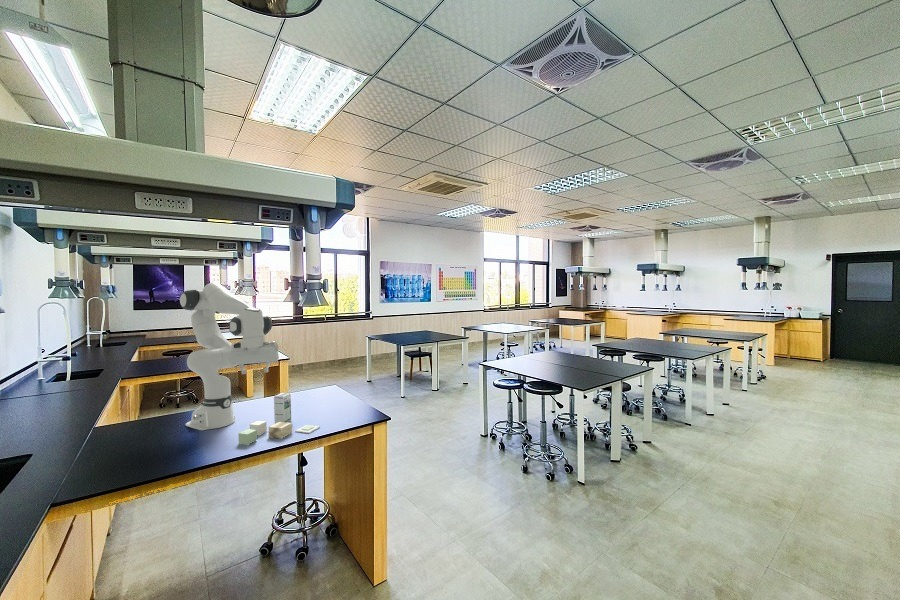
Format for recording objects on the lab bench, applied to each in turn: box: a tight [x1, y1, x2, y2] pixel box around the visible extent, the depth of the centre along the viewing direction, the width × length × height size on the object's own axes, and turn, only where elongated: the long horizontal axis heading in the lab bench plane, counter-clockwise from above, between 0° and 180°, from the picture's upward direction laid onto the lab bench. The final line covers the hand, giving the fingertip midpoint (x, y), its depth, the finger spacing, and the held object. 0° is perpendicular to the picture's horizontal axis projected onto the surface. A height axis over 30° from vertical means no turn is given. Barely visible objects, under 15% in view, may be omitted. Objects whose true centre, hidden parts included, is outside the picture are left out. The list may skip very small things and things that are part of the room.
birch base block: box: [268, 422, 293, 439], centre depth 169 cm, size 7×7×5 cm
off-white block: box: [249, 420, 268, 436], centre depth 171 cm, size 5×5×5 cm
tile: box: [294, 424, 321, 434], centre depth 175 cm, size 8×8×1 cm
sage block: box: [237, 428, 258, 446], centre depth 161 cm, size 5×5×5 cm
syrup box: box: [273, 392, 292, 424], centre depth 185 cm, size 6×6×14 cm
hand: (255, 373), depth 165 cm, fingers open, 8 cm apart
